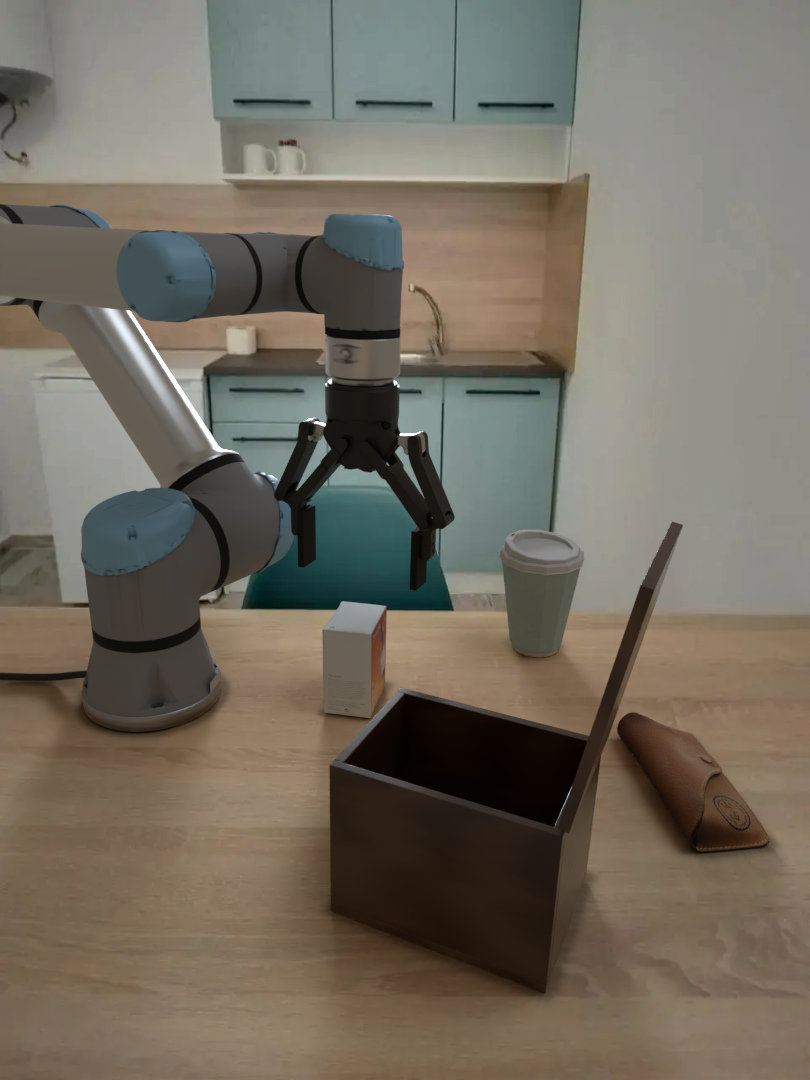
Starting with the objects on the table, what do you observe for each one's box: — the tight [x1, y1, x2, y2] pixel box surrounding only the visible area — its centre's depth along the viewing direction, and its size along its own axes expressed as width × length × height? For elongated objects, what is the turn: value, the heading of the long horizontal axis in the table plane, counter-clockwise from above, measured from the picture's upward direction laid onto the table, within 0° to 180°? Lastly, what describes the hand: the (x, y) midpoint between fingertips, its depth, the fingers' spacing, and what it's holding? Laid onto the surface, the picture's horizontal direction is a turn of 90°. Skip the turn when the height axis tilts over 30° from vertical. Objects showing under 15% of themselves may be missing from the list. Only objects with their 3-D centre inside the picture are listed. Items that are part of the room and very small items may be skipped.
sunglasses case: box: [616, 711, 771, 853], centre depth 81 cm, size 18×7×7 cm
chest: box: [328, 687, 602, 994], centre depth 66 cm, size 18×13×14 cm
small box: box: [321, 600, 388, 719], centre depth 94 cm, size 8×6×10 cm
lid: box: [558, 521, 684, 834], centre depth 56 cm, size 18×13×1 cm
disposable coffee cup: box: [498, 529, 585, 658], centre depth 107 cm, size 11×11×15 cm
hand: (360, 574), depth 91 cm, fingers open, 13 cm apart
